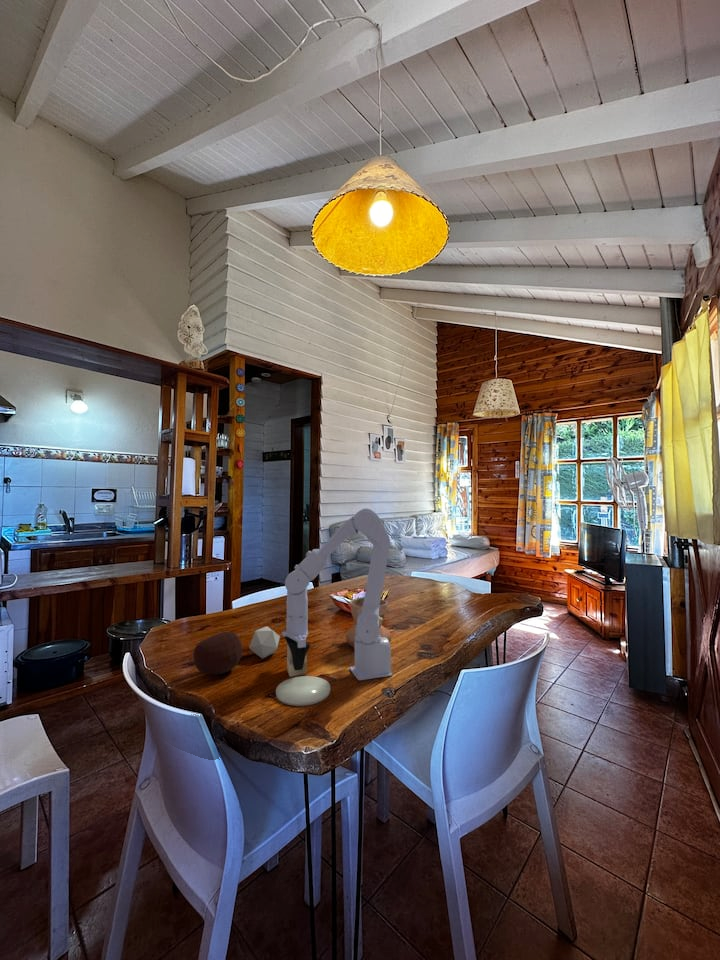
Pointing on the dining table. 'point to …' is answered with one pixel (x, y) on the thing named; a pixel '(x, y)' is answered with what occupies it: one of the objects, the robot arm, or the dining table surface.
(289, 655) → the block
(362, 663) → the robot arm
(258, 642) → the die
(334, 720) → the dining table surface
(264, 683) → the dining table surface
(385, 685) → the dining table surface
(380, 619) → the ceramic jug
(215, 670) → the potato
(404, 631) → the dining table surface
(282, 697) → the plate
